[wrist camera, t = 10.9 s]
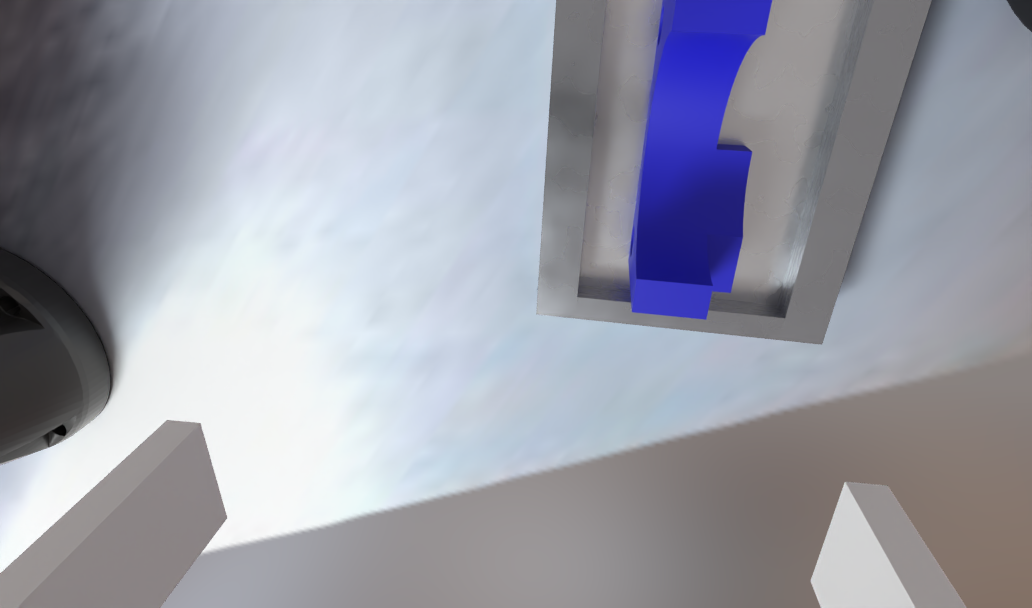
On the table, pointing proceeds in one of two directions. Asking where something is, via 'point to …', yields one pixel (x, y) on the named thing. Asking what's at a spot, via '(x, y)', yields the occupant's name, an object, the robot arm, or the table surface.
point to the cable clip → (692, 159)
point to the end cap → (1023, 11)
